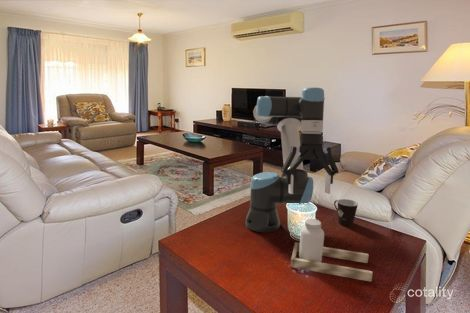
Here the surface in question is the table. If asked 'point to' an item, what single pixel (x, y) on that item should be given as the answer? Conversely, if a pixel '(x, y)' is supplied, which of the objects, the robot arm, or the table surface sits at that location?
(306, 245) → the pill bottle
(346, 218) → the coffee mug
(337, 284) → the table surface
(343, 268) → the cradle
